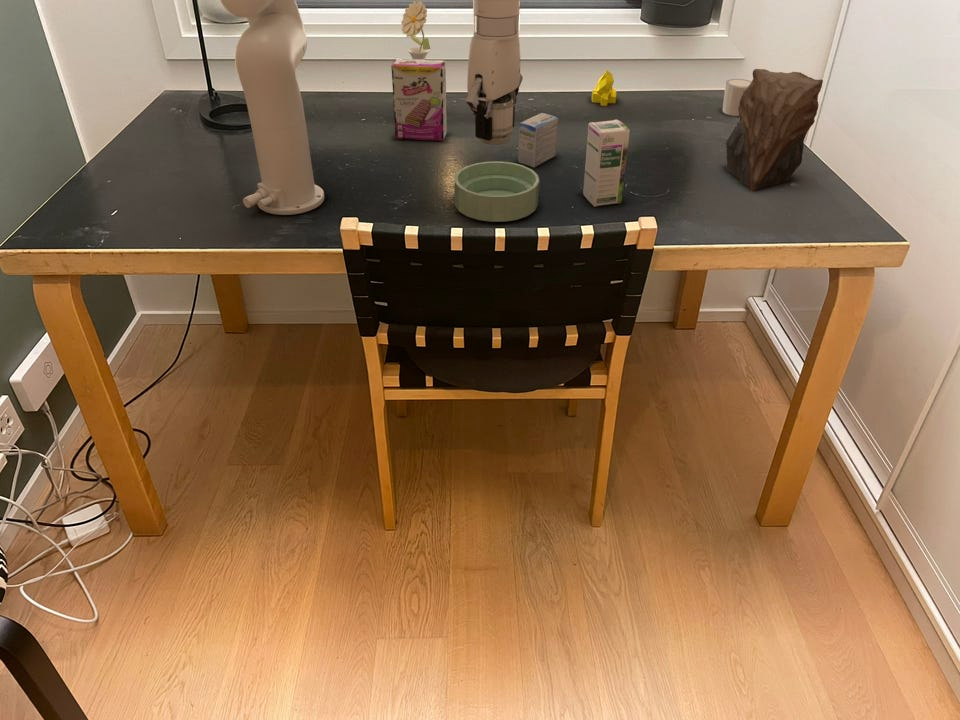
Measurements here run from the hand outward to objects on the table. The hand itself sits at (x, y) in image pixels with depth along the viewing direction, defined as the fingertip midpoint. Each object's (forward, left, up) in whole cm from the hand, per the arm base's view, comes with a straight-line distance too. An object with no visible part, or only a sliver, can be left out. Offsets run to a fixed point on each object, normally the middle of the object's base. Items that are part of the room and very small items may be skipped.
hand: (495, 131), depth 133 cm
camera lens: (0, 0, -2) cm, 2 cm away
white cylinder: (+76, -19, -14) cm, 80 cm away
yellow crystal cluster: (+65, +11, -14) cm, 68 cm away
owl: (+41, -36, -14) cm, 57 cm away
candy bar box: (+19, +33, -14) cm, 40 cm away
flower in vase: (+33, +44, -14) cm, 57 cm away
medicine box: (+23, +5, -14) cm, 28 cm away
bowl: (0, 0, -14) cm, 14 cm away
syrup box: (+14, -15, -14) cm, 25 cm away
